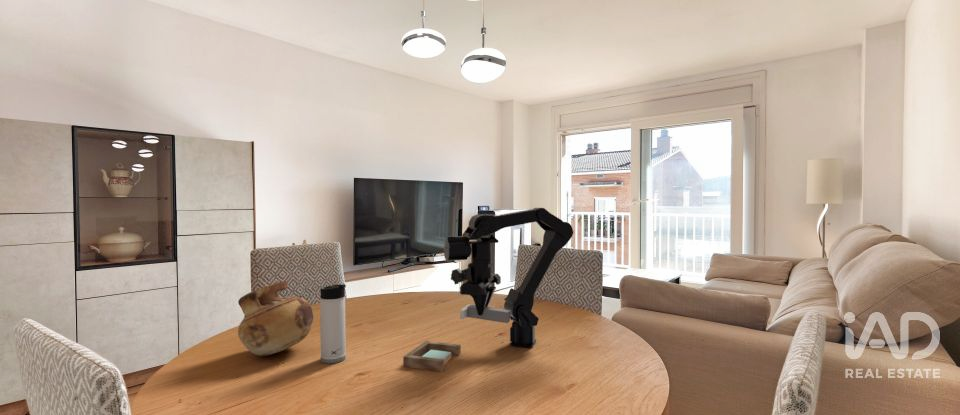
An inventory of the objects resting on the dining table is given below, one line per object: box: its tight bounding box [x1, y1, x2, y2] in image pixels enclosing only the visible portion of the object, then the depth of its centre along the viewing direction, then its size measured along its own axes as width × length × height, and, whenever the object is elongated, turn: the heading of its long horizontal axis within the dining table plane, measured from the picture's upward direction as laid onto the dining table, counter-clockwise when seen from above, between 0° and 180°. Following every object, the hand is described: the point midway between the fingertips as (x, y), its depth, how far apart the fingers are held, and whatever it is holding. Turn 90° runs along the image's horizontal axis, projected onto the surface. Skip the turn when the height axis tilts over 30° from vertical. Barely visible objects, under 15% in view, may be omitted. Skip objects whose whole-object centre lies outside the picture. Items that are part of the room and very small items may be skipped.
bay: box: [402, 340, 462, 372], centre depth 113 cm, size 10×13×2 cm
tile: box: [422, 350, 452, 365], centre depth 113 cm, size 6×6×2 cm
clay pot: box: [237, 280, 314, 357], centre depth 118 cm, size 19×19×20 cm
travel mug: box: [319, 283, 347, 365], centre depth 114 cm, size 6×7×20 cm
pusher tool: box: [459, 304, 511, 324], centre depth 121 cm, size 13×7×3 cm, turn 71°
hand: (481, 313), depth 121 cm, fingers closed on pusher tool, 2 cm apart
